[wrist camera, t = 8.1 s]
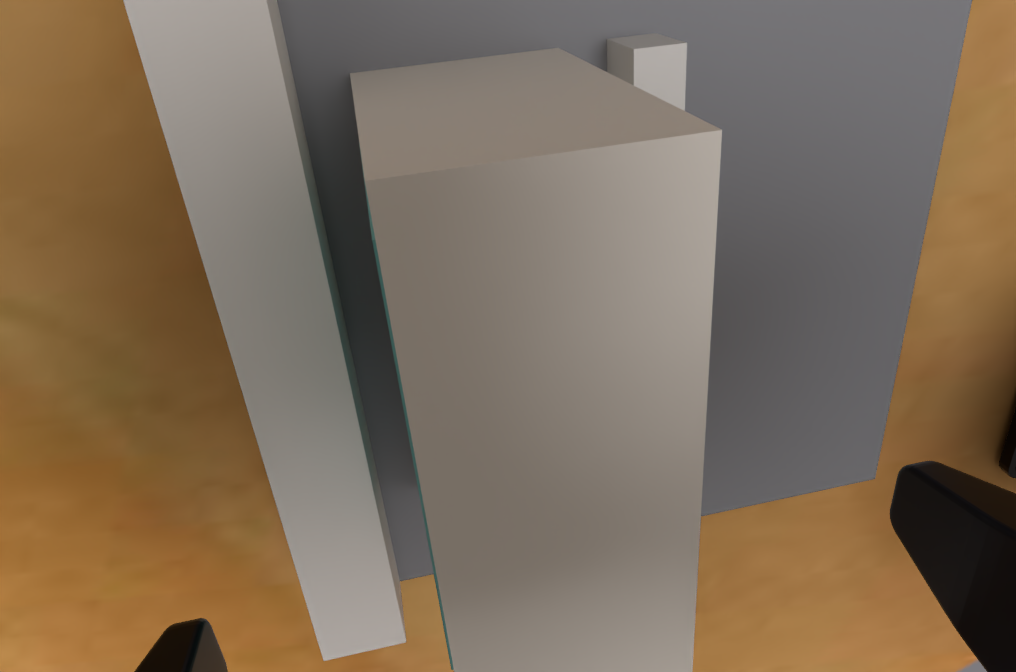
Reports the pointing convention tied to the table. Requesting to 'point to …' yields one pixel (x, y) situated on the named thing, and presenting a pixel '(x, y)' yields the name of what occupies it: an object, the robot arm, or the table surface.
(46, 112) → the table surface
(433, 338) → the carton
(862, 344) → the shelf board
